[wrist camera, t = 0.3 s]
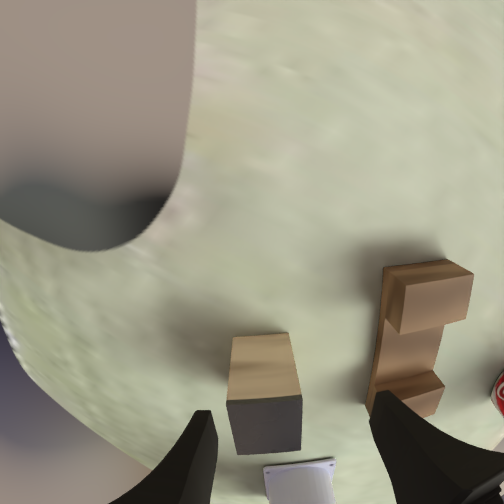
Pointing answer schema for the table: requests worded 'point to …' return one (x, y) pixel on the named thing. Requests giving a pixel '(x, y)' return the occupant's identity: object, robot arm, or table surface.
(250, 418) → the tan wooden block
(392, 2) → the table surface
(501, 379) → the soda can
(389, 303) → the brown u-shaped block
